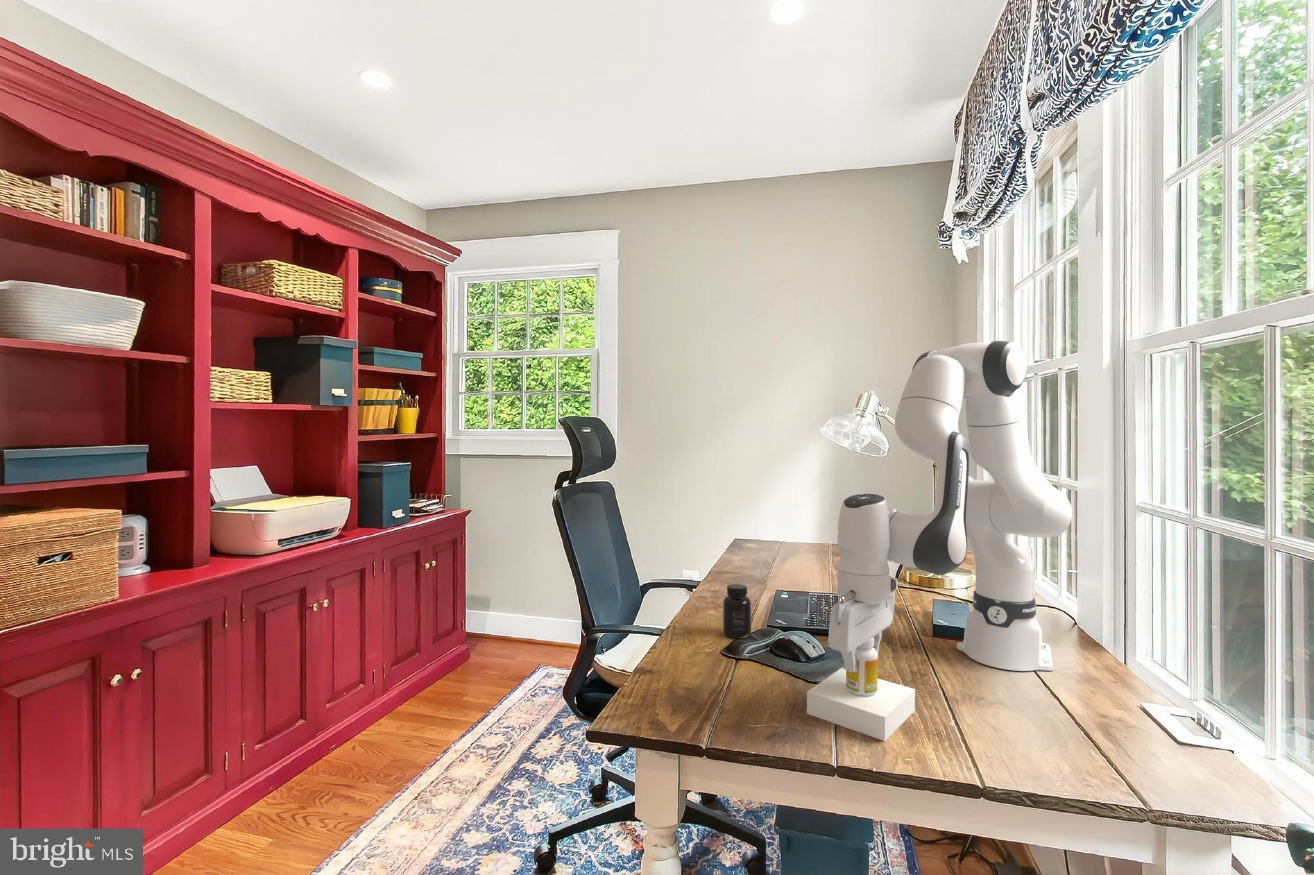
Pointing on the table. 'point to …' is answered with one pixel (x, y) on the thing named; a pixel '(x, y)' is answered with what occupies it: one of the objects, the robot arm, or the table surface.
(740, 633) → the supplement bottle
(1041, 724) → the table surface
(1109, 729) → the table surface
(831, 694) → the plinth
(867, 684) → the supplement bottle
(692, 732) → the table surface
